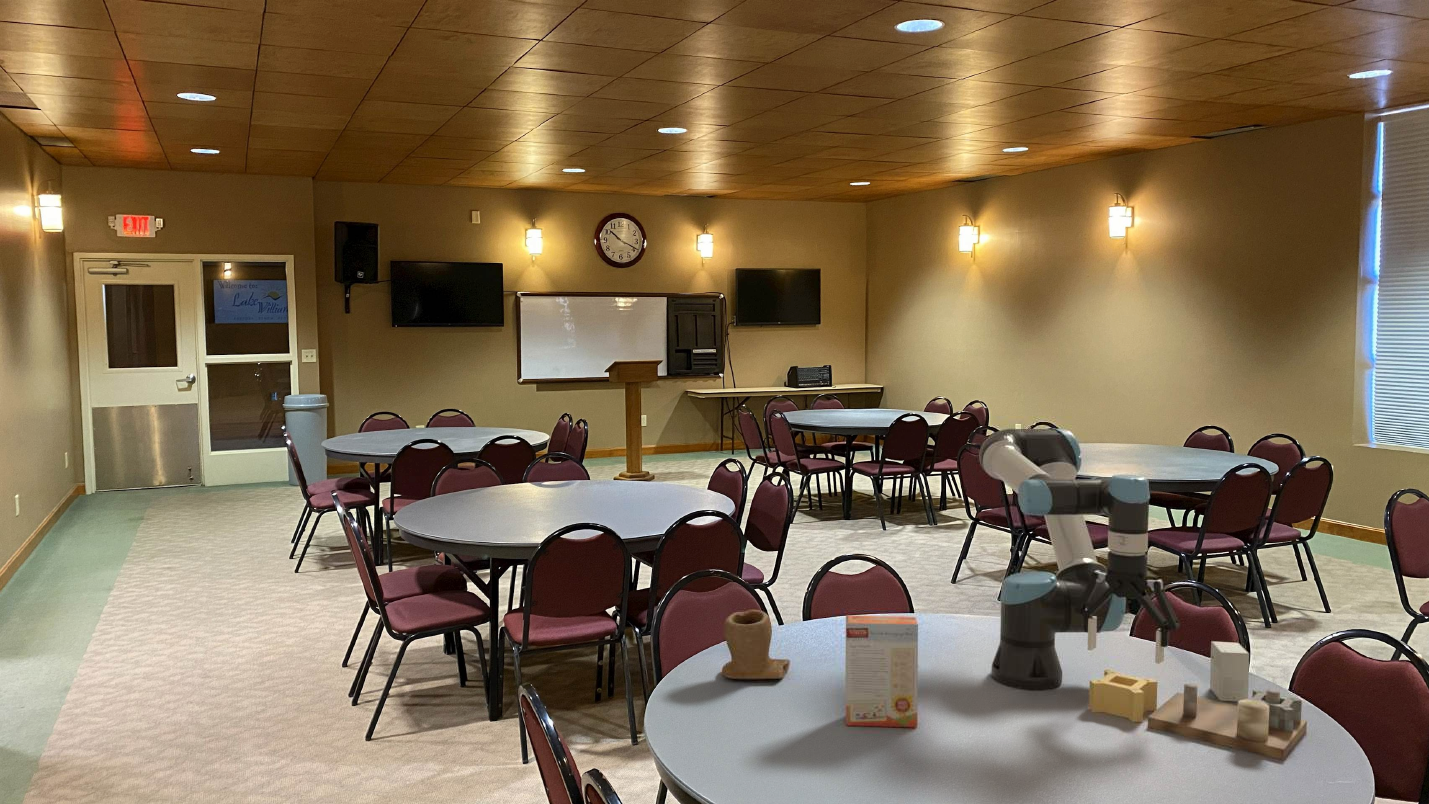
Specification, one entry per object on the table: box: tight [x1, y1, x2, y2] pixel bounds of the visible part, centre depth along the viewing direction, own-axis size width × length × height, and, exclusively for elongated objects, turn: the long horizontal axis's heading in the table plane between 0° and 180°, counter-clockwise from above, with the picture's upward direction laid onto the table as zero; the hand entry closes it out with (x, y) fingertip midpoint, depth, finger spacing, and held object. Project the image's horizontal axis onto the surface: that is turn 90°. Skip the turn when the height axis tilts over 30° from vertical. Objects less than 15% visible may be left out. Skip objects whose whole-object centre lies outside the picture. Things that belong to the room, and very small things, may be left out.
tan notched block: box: [1088, 669, 1158, 723], centre depth 214 cm, size 11×11×6 cm
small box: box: [1209, 640, 1250, 703], centre depth 222 cm, size 8×6×10 cm
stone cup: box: [721, 609, 791, 680], centre depth 234 cm, size 15×12×15 cm
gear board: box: [1147, 683, 1308, 761], centre depth 204 cm, size 24×18×8 cm
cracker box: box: [845, 615, 919, 728], centre depth 207 cm, size 14×6×21 cm, turn 84°
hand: (1124, 655), depth 214 cm, fingers open, 13 cm apart
